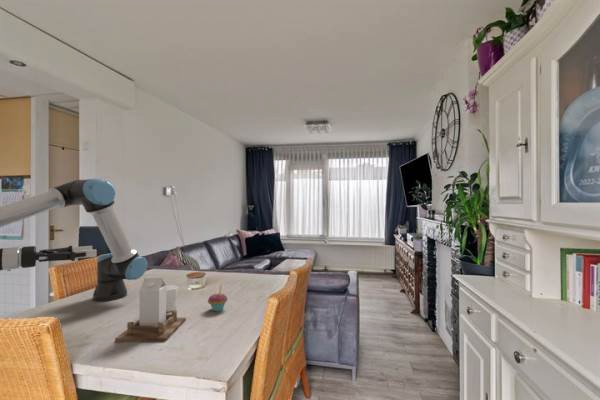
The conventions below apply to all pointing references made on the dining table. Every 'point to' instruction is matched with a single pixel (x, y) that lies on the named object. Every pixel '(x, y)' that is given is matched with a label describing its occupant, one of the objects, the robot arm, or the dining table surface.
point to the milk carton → (152, 302)
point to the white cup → (171, 297)
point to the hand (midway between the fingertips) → (94, 250)
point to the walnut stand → (152, 330)
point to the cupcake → (217, 301)
